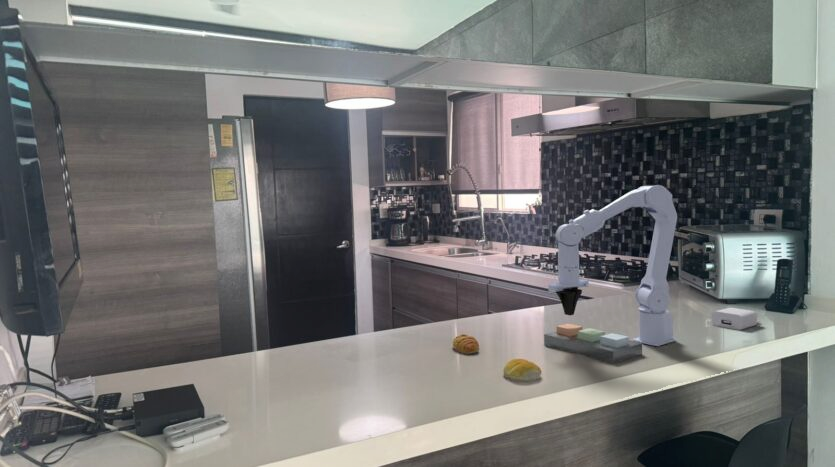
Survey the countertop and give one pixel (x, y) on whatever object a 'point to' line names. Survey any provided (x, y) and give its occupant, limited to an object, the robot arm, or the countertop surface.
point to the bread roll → (522, 370)
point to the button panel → (593, 347)
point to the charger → (734, 318)
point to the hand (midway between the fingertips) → (569, 314)
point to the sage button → (590, 334)
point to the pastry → (466, 344)
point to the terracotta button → (568, 329)
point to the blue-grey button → (614, 340)
